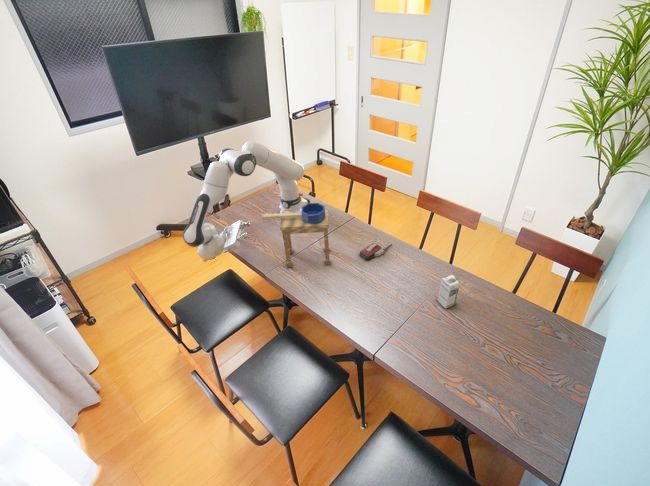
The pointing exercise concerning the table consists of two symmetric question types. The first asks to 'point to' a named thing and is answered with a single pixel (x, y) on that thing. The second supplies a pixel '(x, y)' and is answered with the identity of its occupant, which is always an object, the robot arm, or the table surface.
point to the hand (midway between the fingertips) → (247, 228)
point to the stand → (301, 226)
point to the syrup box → (448, 291)
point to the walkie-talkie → (372, 251)
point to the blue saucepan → (303, 214)
